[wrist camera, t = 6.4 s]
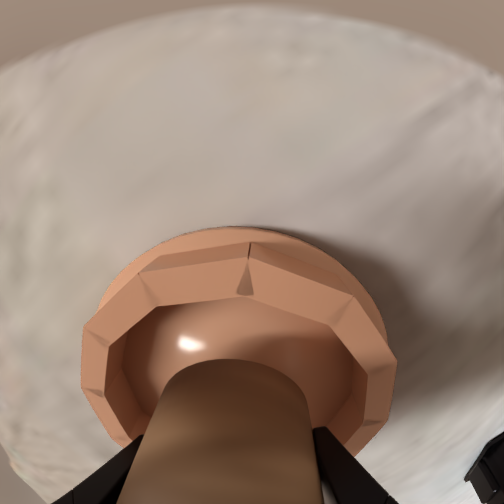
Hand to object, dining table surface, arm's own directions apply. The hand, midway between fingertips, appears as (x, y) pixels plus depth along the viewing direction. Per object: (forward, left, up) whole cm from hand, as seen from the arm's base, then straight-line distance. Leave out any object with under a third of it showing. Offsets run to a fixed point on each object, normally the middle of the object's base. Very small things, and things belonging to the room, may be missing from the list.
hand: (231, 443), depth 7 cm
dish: (0, 0, -4) cm, 4 cm away
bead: (0, 0, -1) cm, 1 cm away
